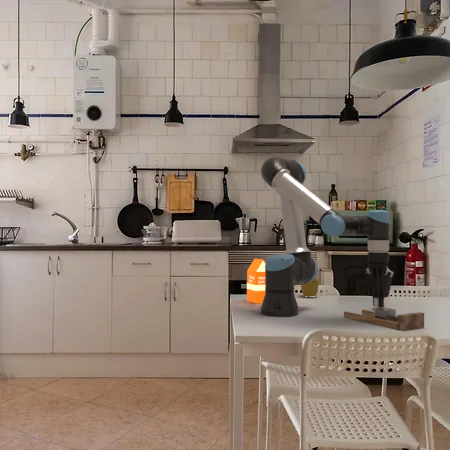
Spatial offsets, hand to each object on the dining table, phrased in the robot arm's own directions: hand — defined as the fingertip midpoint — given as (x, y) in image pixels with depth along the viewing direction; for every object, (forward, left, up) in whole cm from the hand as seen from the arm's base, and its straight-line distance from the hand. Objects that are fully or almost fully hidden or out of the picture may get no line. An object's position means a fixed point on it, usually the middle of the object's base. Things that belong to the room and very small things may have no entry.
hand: (378, 315), depth 166 cm
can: (+21, +17, -2) cm, 27 cm away
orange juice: (-15, +57, -2) cm, 59 cm away
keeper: (0, -3, -2) cm, 4 cm away
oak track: (0, -1, -2) cm, 2 cm away
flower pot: (+17, +59, -2) cm, 61 cm away
